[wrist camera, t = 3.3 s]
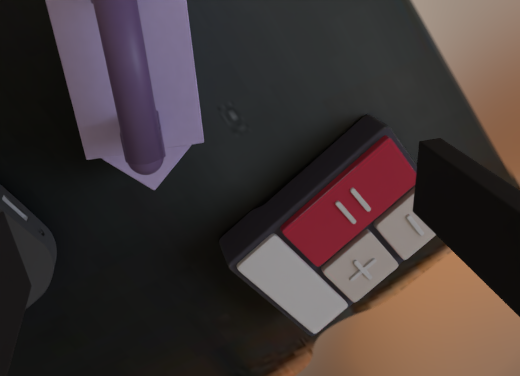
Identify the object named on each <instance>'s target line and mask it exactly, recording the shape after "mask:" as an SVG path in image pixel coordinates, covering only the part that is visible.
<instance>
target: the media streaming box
mask: <svg viewBox="0 0 520 376" xmlns="http://www.w3.org/2000/svg"><path fill="white" fill-rule="evenodd" d="M2 211H4V213H5V216H6V219H7V221H8V224H9V227H10V229H11V232H12V235H13V237H14V240H15V243H16V245H17V248H18V251H19V253H20V256H21V258H22V261H23V264H24V266H25V269H26V272H27V274H28V277H29V280H30V282H31V285H32V287H31V290H30V294H29V298H28V301H27V305H26V308H25V310H26V309H27V308H28V307H29V306H30V305H32V304H33V303H34V302H35V301H36V300H37V299H38V298H39V297H41V296H42V295H43V294H44V292H45V291H46V290H47V288H48V286H49V284H50V282H51V279H52V276H53V272H54V267H55V262H56V258H57V247H56V243H55V240H54V237H53V235H52V233H51V232H50V230H49V229H48V228H47V227H46V226H45V225H44V224H43V223H42V222H41V221H40V220H39V219H38V218H37V217H36V216H35V215H34V214H33V213H32V212H31V211H29V210H28V209H27V208H26V207H25V206H24V205H23V204H22V203H21V202H20V201H19V200H17V199H16V198H15V197H14V196H13V195H12V194H11V193H10V192H9V191H7V190H6V189H5V188H4V187H3V186H2V185H1V184H0V212H2Z"/></svg>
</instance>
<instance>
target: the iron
mask: <svg viewBox="0 0 520 376" xmlns="http://www.w3.org/2000/svg"><path fill="white" fill-rule="evenodd" d="M45 1H46V5H47V9H48V13H49V17H50V21H51V24H52V28H53V32H54V36H55V40H56V44H57V48H58V52H59V55H60V59H61V63H62V67H63V71H64V75H65V79H66V83H67V86H68V90H69V94H70V98H71V102H72V106H73V110H74V114H75V117H76V121H77V125H78V129H79V133H80V137H81V141H82V145H83V148H84V152H85V156H86V159H87V160H91V159H97V158H102V159H103V160H104V161H106V162H108V163H109V164H111V165H113V166H114V167H116V168H118V169H119V170H121V171H123V172H124V173H126V174H128V175H129V176H131V177H133V178H134V179H136V180H138V181H139V182H141V183H143V184H144V185H146V186H148V187H149V188H151V189H153V190H155V189H156V188H157V187H158V186H159V184H160V183H161V182H162V181H163V180H164V178H165V177H166V176H167V175H168V173H169V172H170V171H171V170H172V168H173V167H174V166H175V165H176V164H177V162H178V161H179V160H180V159H181V157H182V156H183V155H184V154H185V152H186V151H187V150H188V149H189V148H190V146H191V144H198V143H204V136H203V128H202V120H201V112H200V104H199V96H198V88H197V80H196V73H195V65H194V57H193V49H192V41H191V33H190V25H189V17H188V9H187V1H186V0H45Z"/></svg>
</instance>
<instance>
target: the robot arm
mask: <svg viewBox="0 0 520 376" xmlns="http://www.w3.org/2000/svg"><path fill="white" fill-rule="evenodd" d="M413 212H414V213H415V214H416V215H417V216H418V217H419V218H420V219H421V220H422V221H423V222H424V223H425V224H426V225H427V226H428V227H429V228H430V229H431V230H432V231H433V232H434V233H435V234H436V235H437V236H438V237H439V238H440V239H441V240H442V241H443V242H444V243H445V244H446V245H447V246H448V247H449V248H450V249H451V250H452V251H453V252H454V253H455V254H456V255H457V256H458V257H459V258H460V259H461V260H462V261H464V262H465V263H466V265H468V266H469V267H470V268H471V269H472V270H473V271H474V272H475V273H476V274H477V275H478V276H479V277H480V278H481V279H482V280H483V281H484V282H485V283H486V284H487V285H488V286H489V287H490V288H491V289H492V290H493V291H494V292H495V293H496V294H497V295H498V296H499V297H500V298H501V299H503V301H504V302H505V303H506V304H507V305H508V306H509V307H510V308H511V309H512V310H513V311H514V312H515V313H516V314H517V315H518V316H519V317H520V190H518V189H517V188H515V187H514V186H512V185H511V184H509V183H508V182H506V181H505V180H503V179H502V178H500V177H498V176H497V175H495V174H494V173H492V172H491V171H489V170H488V169H486V168H485V167H483V166H482V165H480V164H479V163H477V162H476V161H474V160H473V159H471V158H470V157H468V156H467V155H465V154H464V153H462V152H461V151H459V150H458V149H456V148H455V147H453V146H452V145H450V144H448V143H447V142H445V141H444V140H442V139H441V138H437V139H431V140H425V141H420V142H419V152H418V162H417V172H416V182H415V192H414V202H413ZM31 287H32V285H31V282H30V280H29V277H28V274H27V272H26V269H25V266H24V264H23V261H22V258H21V256H20V253H19V251H18V248H17V245H16V243H15V240H14V237H13V235H12V232H11V229H10V227H9V224H8V221H7V219H6V216H5V213H4V211H2V212H0V376H7V374H8V370H9V367H10V363H11V359H12V356H13V352H14V349H15V345H16V341H17V338H18V334H19V330H20V327H21V323H22V319H23V316H24V312H25V308H26V305H27V301H28V298H29V294H30V290H31Z"/></svg>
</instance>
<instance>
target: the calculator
mask: <svg viewBox="0 0 520 376" xmlns="http://www.w3.org/2000/svg"><path fill="white" fill-rule="evenodd" d="M416 172H417V165H416V163H415V162H414V161H413V159H412V158H411V156H410V155H409V153H408V152H407V151H406V149H405V148H404V146H403V145H402V143H401V142H400V141H399V139H398V138H397V136H396V135H395V133H394V132H393V131H392V129H391V128H390V127H389V126H387V125H386V124H384V123H383V122H381V121H379V120H378V119H376V118H375V117H373V116H371V115H365V116H364V117H363V118H361V119H360V120H359V121H358V122H357V123H356V124H355V125H354V126H352V127H351V128H350V129H349V130H348V131H347V132H346V133H345V134H343V135H342V136H341V137H340V138H339V139H338V140H337V141H336V142H334V143H333V144H332V145H331V146H330V147H329V148H328V149H326V150H325V151H324V152H323V153H322V154H321V155H320V156H319V157H317V158H316V159H315V160H314V161H313V162H312V163H311V164H310V165H308V166H307V167H306V168H305V169H304V170H303V171H302V172H301V173H299V174H298V175H297V176H296V177H295V178H294V179H293V180H292V181H290V182H289V183H288V184H287V185H286V186H285V187H284V188H282V189H281V190H280V191H279V192H278V193H277V194H276V195H275V196H273V197H272V198H271V199H270V200H269V201H268V202H267V203H265V204H264V205H263V206H261V207H258V208H256V209H253V210H252V211H250V212H249V213H248V214H247V215H246V216H245V217H244V218H242V219H241V220H240V221H239V222H238V223H237V224H236V225H235V226H233V227H232V228H231V229H230V230H229V231H228V232H227V233H226V234H224V235H223V236H222V237H221V238H220V240H219V244H220V247H221V250H222V252H223V255H224V257H225V260H226V263H227V265H228V267H229V269H230V270H231V271H232V272H234V273H235V274H236V275H237V276H238V277H240V278H241V279H242V280H243V281H244V282H246V283H247V284H248V285H249V286H250V287H252V288H253V289H254V290H255V291H256V292H257V293H259V294H260V295H261V296H262V297H263V298H265V299H266V300H267V301H268V302H269V303H271V304H272V305H273V306H274V307H275V308H277V309H278V310H279V311H280V312H281V313H283V314H284V315H285V316H286V317H287V318H289V319H290V320H291V321H292V322H293V323H295V324H296V325H297V326H298V327H299V328H301V329H302V330H303V331H304V332H305V333H307V334H308V335H309V336H314V335H316V334H317V333H318V332H319V331H321V330H322V329H323V328H324V327H325V326H326V325H328V324H329V323H330V322H331V321H332V320H334V319H335V318H336V317H337V316H338V315H339V314H341V313H342V312H343V311H344V310H345V309H347V308H348V307H349V306H350V305H351V304H353V303H354V302H356V301H358V300H359V299H360V298H362V297H363V296H364V295H365V294H366V293H368V292H369V291H370V290H371V289H372V288H374V287H375V286H376V285H377V284H378V283H379V282H381V281H382V280H383V279H384V278H385V277H387V276H388V275H389V274H390V273H391V272H392V271H394V270H395V269H396V268H397V267H398V265H399V264H400V263H401V262H402V261H403V260H406V259H408V258H409V257H410V256H411V255H413V254H414V253H415V252H416V251H417V250H419V249H420V248H421V247H422V246H423V245H425V244H426V243H427V242H428V241H429V240H430V239H432V238H433V237H434V236H435V235H436V234H435V233H434V232H433V231H432V230H431V229H430V228H429V227H428V226H427V225H426V224H425V223H424V222H423V221H422V220H421V219H420V218H419V217H418V216H417V215H416V214H415V213H414V212H413V202H414V192H415V182H416Z"/></svg>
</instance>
